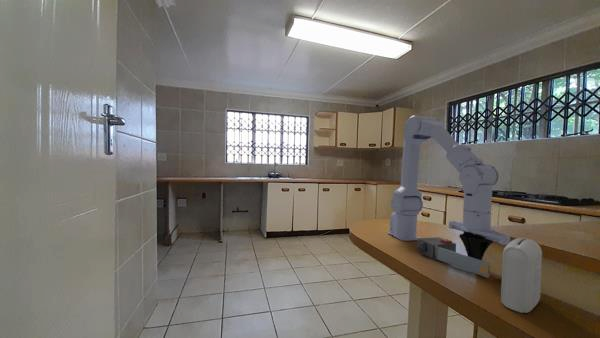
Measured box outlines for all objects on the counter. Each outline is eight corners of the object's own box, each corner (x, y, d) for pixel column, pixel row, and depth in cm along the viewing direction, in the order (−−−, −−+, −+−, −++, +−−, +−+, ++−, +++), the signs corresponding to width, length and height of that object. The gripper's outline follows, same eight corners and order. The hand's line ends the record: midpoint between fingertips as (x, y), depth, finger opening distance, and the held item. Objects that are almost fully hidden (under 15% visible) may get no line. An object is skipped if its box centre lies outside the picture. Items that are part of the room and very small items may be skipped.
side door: (435, 258, 64) (436, 245, 64) (489, 278, 53) (490, 262, 53) (434, 259, 64) (434, 245, 64) (487, 278, 53) (488, 262, 53)
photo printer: (514, 290, 49) (516, 232, 49) (543, 300, 45) (545, 238, 45) (497, 304, 43) (499, 239, 43) (528, 317, 40) (531, 246, 39)
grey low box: (414, 251, 70) (414, 236, 70) (438, 249, 72) (439, 235, 72) (429, 259, 64) (430, 243, 64) (455, 257, 66) (456, 241, 66)
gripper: (440, 206, 65) (438, 253, 65) (494, 217, 51) (491, 277, 51) (460, 206, 67) (459, 252, 67) (518, 217, 53) (515, 275, 53)
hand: (474, 263), depth 59 cm, fingers closed
